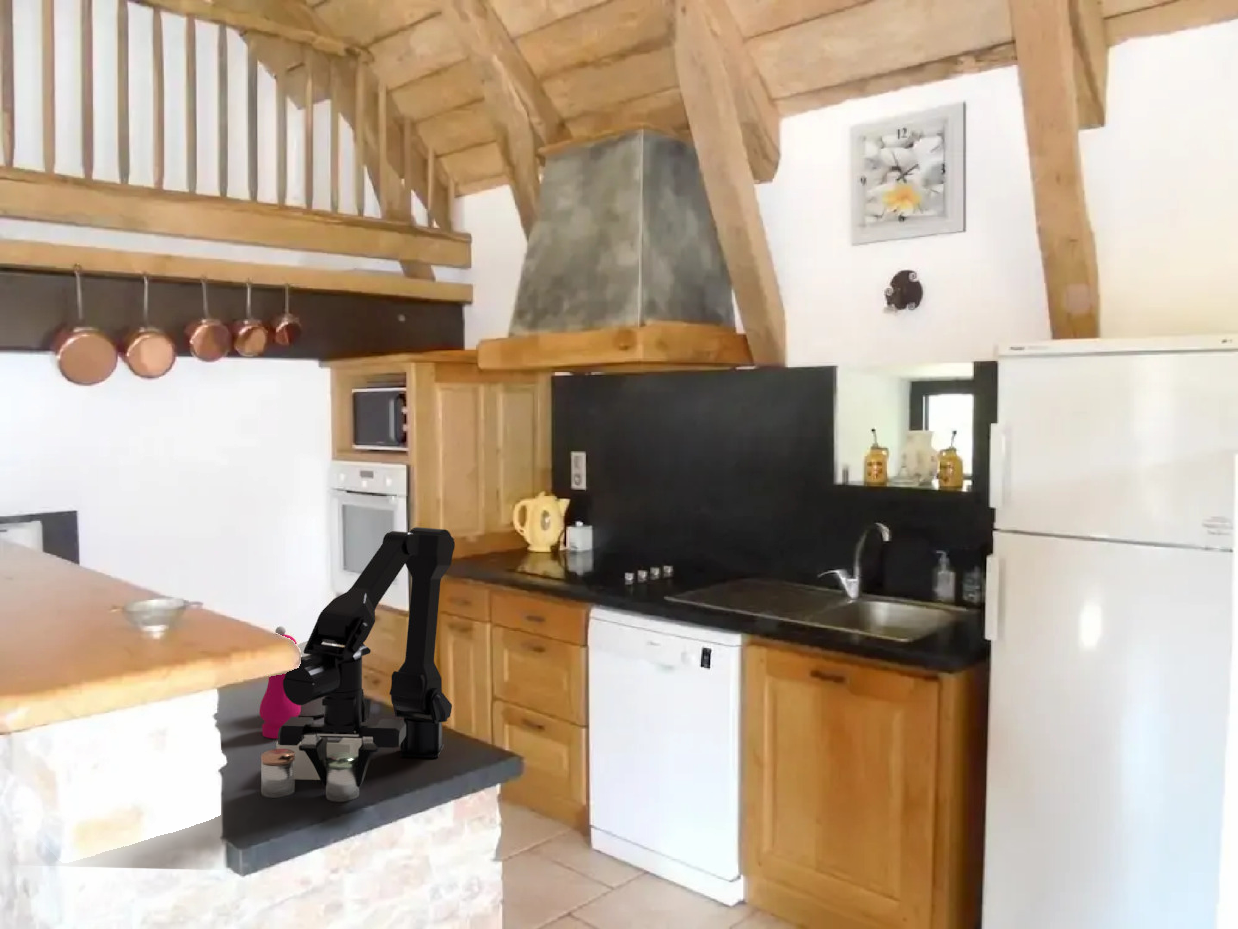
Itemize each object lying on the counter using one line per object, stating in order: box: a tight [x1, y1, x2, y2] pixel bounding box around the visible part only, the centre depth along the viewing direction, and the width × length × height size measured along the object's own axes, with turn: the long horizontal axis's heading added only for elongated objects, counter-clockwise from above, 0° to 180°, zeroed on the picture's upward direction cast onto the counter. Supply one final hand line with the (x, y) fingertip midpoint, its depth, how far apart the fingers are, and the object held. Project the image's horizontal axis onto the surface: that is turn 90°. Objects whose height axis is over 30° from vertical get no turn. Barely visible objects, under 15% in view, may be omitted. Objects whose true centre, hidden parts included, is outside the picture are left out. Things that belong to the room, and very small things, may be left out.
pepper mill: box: [259, 625, 301, 740], centre depth 185 cm, size 7×7×20 cm
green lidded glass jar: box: [325, 752, 360, 803], centre depth 157 cm, size 5×5×6 cm
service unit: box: [275, 737, 363, 781], centre depth 167 cm, size 12×7×6 cm, turn 90°
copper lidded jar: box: [260, 748, 296, 799], centre depth 158 cm, size 5×5×6 cm
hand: (342, 785), depth 157 cm, fingers closed on green lidded glass jar, 5 cm apart
